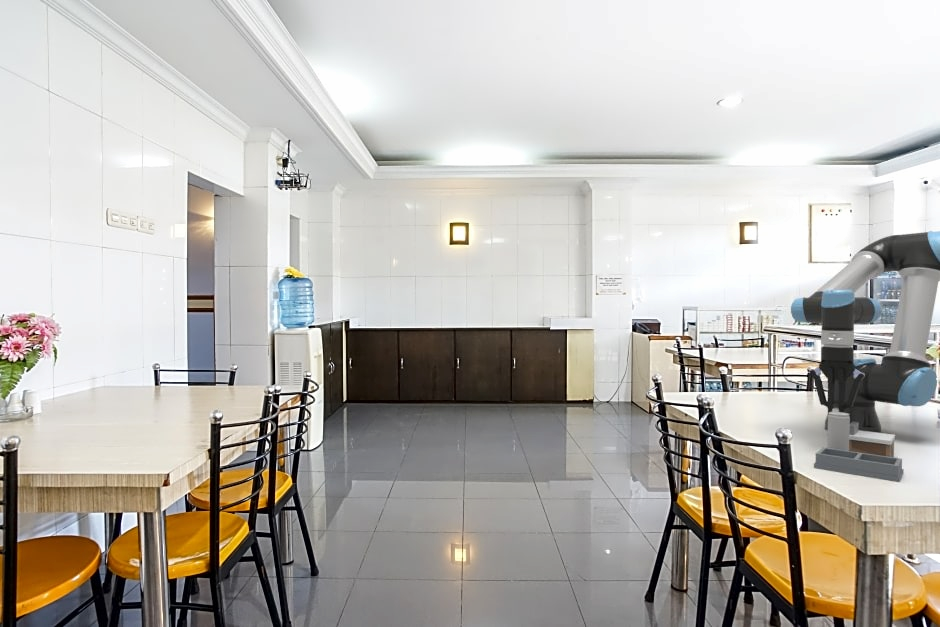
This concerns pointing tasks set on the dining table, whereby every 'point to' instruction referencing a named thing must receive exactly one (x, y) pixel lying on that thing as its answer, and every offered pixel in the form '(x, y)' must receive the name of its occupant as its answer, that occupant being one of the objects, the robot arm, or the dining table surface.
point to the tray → (871, 448)
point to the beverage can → (838, 430)
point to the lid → (869, 435)
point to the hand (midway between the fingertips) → (836, 432)
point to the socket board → (860, 464)
